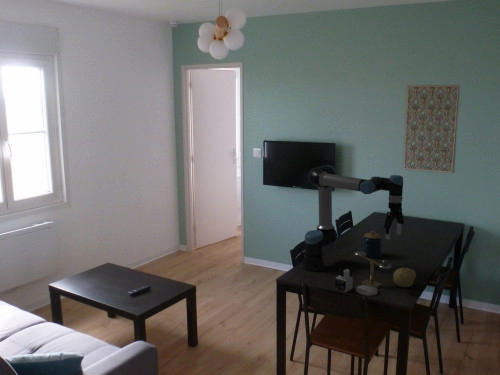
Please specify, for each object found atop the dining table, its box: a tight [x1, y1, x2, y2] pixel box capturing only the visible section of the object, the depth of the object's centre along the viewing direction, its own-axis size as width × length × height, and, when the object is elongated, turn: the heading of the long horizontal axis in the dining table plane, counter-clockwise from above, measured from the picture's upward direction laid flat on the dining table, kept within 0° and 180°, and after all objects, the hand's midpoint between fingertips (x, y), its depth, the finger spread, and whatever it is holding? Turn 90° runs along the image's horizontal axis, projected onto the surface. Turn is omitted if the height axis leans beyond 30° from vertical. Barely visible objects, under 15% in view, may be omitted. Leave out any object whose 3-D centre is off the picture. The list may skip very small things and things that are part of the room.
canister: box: [362, 230, 383, 259], centre depth 322 cm, size 13×13×18 cm
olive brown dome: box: [392, 267, 417, 289], centre depth 272 cm, size 11×12×11 cm
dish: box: [355, 284, 379, 297], centre depth 265 cm, size 12×12×1 cm
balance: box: [353, 250, 392, 290], centre depth 272 cm, size 22×7×18 cm, turn 51°
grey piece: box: [334, 267, 354, 293], centre depth 268 cm, size 7×7×12 cm
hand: (393, 236), depth 276 cm, fingers open, 13 cm apart
